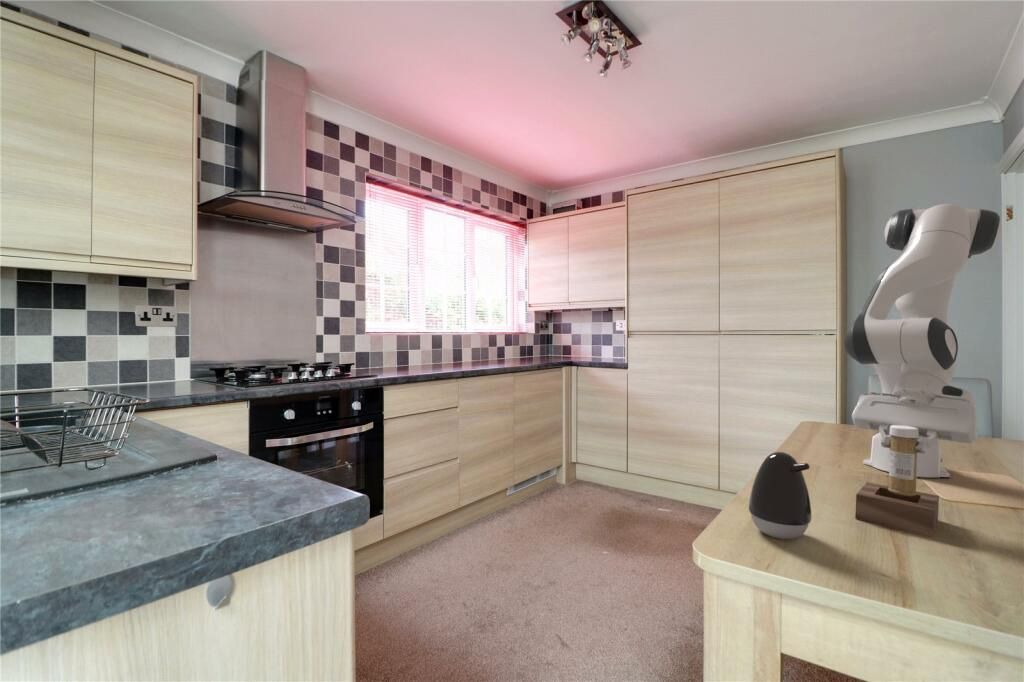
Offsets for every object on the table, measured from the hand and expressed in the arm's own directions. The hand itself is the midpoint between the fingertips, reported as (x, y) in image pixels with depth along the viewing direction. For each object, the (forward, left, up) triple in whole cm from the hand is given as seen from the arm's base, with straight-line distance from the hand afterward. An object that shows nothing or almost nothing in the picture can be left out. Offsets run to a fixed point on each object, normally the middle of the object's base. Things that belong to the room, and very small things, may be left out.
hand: (902, 448), depth 99 cm
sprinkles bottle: (0, 0, -9) cm, 9 cm away
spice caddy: (-1, -1, -15) cm, 15 cm away
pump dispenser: (+25, -15, -15) cm, 33 cm away
